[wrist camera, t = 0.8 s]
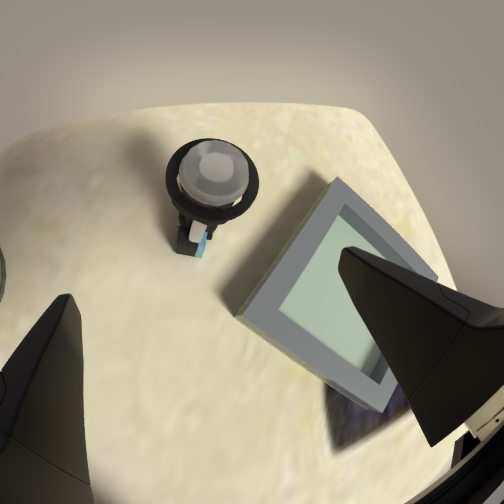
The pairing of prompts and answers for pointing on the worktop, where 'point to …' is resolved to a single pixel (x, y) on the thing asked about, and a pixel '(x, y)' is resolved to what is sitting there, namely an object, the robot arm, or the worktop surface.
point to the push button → (208, 189)
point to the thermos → (2, 274)
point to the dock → (329, 297)
